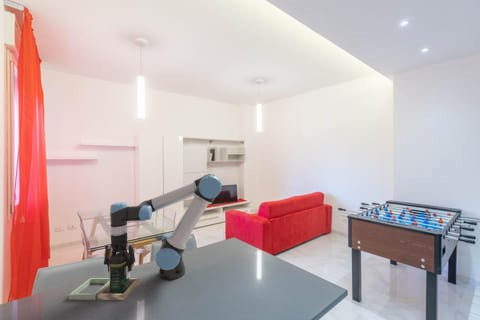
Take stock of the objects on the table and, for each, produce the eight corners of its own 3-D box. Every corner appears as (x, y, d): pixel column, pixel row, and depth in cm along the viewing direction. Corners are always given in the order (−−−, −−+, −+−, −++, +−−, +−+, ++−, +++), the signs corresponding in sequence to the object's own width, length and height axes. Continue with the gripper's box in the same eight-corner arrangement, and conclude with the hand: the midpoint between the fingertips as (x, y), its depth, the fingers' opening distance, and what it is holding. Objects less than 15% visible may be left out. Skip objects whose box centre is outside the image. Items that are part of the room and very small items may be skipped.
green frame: (113, 282, 123) (113, 278, 123) (95, 299, 108) (95, 294, 108) (90, 282, 123) (90, 277, 123) (69, 299, 108) (69, 294, 108)
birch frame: (138, 282, 123) (138, 278, 123) (123, 299, 108) (123, 294, 108) (115, 282, 123) (115, 278, 123) (97, 299, 108) (97, 294, 108)
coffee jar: (122, 295, 110) (121, 257, 110) (106, 295, 111) (105, 257, 111) (132, 284, 120) (131, 249, 120) (118, 284, 120) (117, 249, 120)
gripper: (142, 230, 119) (143, 273, 119) (104, 231, 119) (104, 273, 119) (135, 235, 111) (136, 281, 111) (94, 236, 112) (95, 281, 112)
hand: (120, 277), depth 115 cm, fingers closed on coffee jar, 8 cm apart
